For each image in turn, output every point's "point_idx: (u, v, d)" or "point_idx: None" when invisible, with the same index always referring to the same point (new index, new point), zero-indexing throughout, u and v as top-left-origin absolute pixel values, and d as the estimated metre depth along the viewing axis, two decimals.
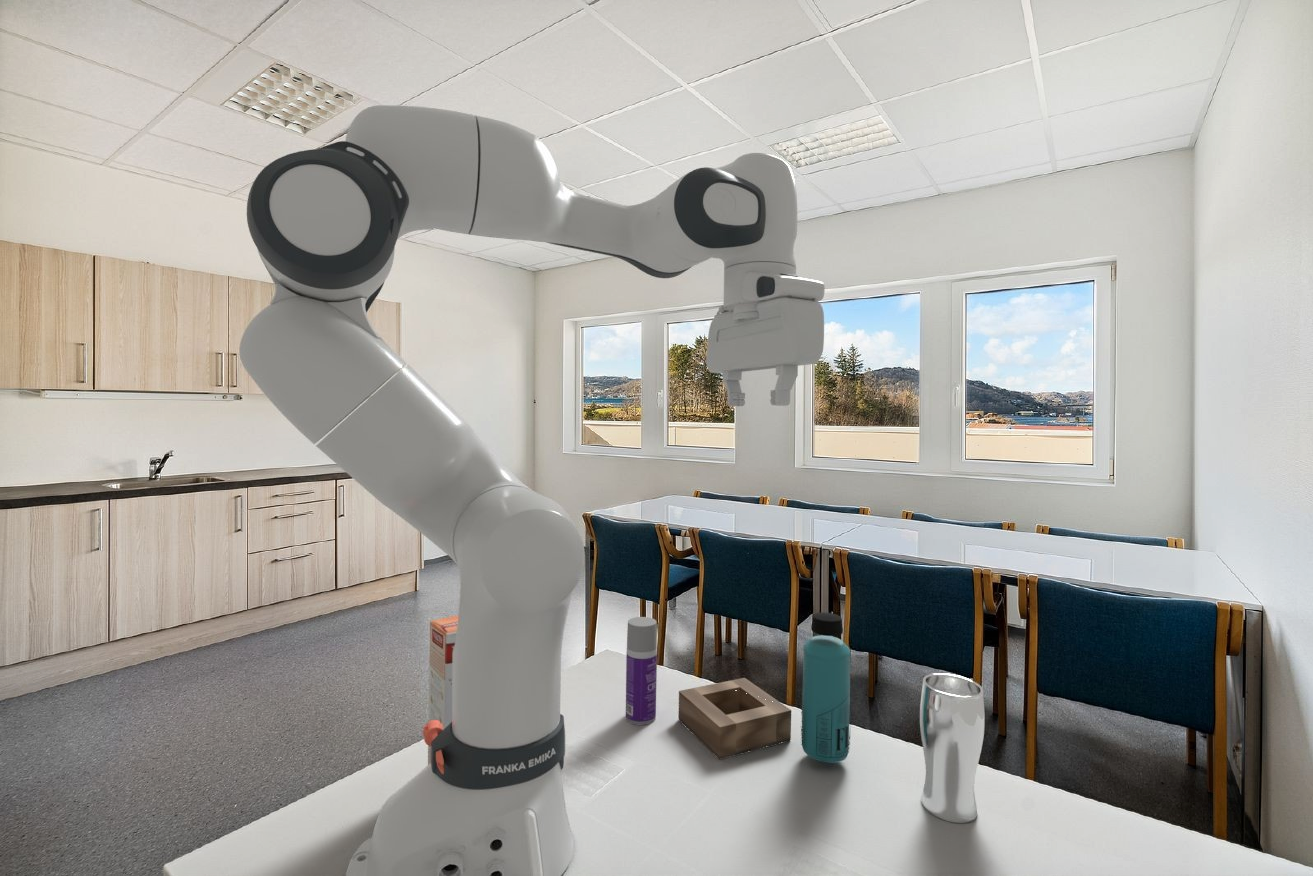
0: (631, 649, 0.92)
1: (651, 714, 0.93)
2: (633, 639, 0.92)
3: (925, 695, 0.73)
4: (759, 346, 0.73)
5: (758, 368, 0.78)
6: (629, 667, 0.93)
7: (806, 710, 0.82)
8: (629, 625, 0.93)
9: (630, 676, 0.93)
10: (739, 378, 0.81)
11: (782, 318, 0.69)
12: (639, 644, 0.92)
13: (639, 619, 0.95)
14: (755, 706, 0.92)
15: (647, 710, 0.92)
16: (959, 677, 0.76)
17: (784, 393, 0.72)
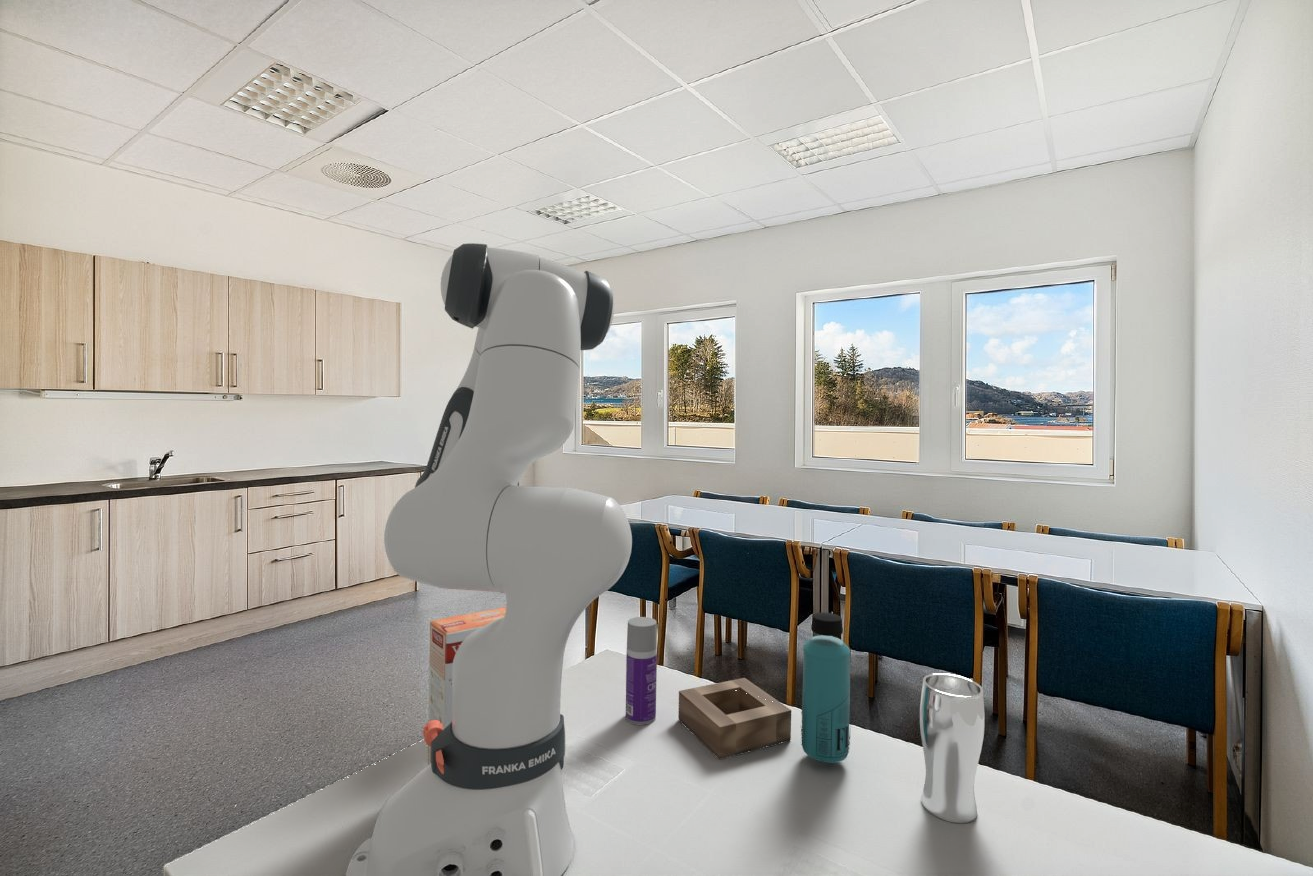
0: (631, 649, 0.92)
1: (651, 714, 0.93)
2: (633, 639, 0.92)
3: (925, 695, 0.73)
4: None
5: None
6: (629, 667, 0.93)
7: (806, 710, 0.82)
8: (629, 625, 0.93)
9: (630, 676, 0.93)
10: None
11: None
12: (639, 644, 0.92)
13: (639, 619, 0.95)
14: (755, 706, 0.92)
15: (647, 710, 0.92)
16: (959, 677, 0.76)
17: None
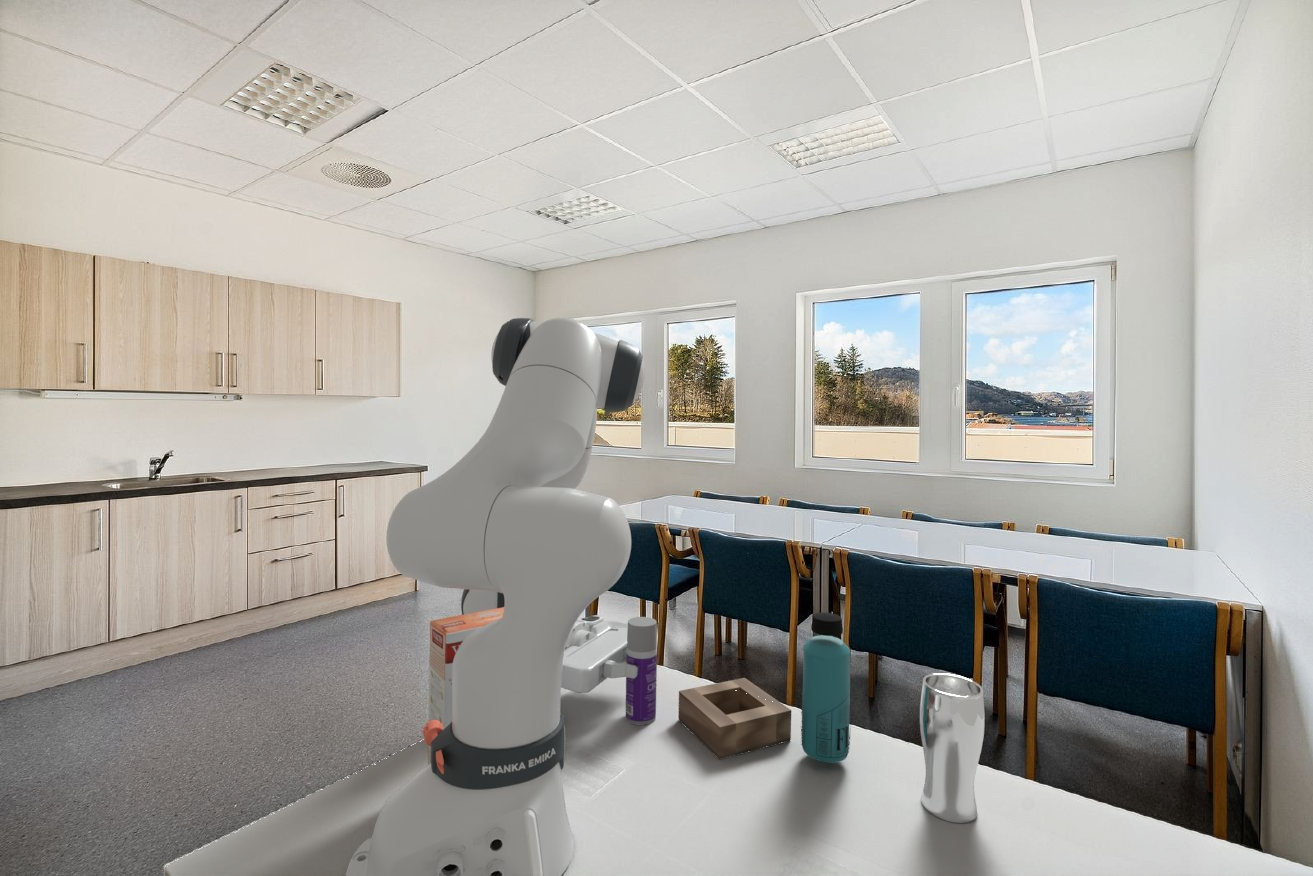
0: (631, 649, 0.92)
1: (651, 714, 0.93)
2: (633, 639, 0.92)
3: (925, 695, 0.73)
4: (615, 639, 0.99)
5: None
6: None
7: (806, 710, 0.82)
8: (629, 625, 0.93)
9: None
10: None
11: (613, 628, 1.04)
12: (639, 644, 0.92)
13: (639, 619, 0.95)
14: (755, 706, 0.92)
15: (647, 710, 0.92)
16: (959, 677, 0.76)
17: None
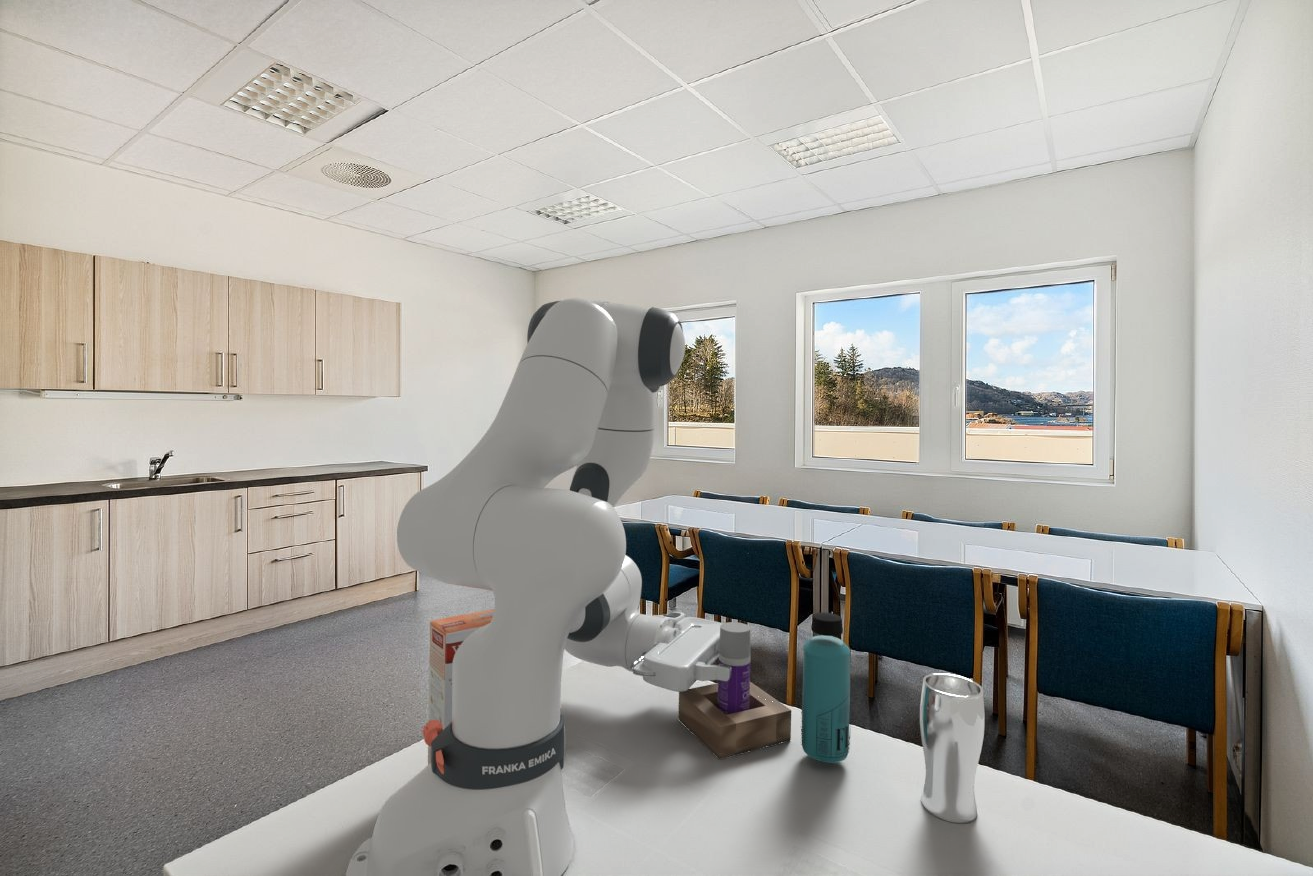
0: (726, 656, 0.89)
1: None
2: (728, 646, 0.89)
3: (925, 695, 0.73)
4: (701, 636, 0.96)
5: None
6: None
7: (806, 710, 0.82)
8: (723, 631, 0.90)
9: (724, 684, 0.89)
10: None
11: (695, 625, 1.01)
12: (734, 651, 0.89)
13: (731, 625, 0.92)
14: (755, 706, 0.92)
15: None
16: (959, 677, 0.76)
17: None
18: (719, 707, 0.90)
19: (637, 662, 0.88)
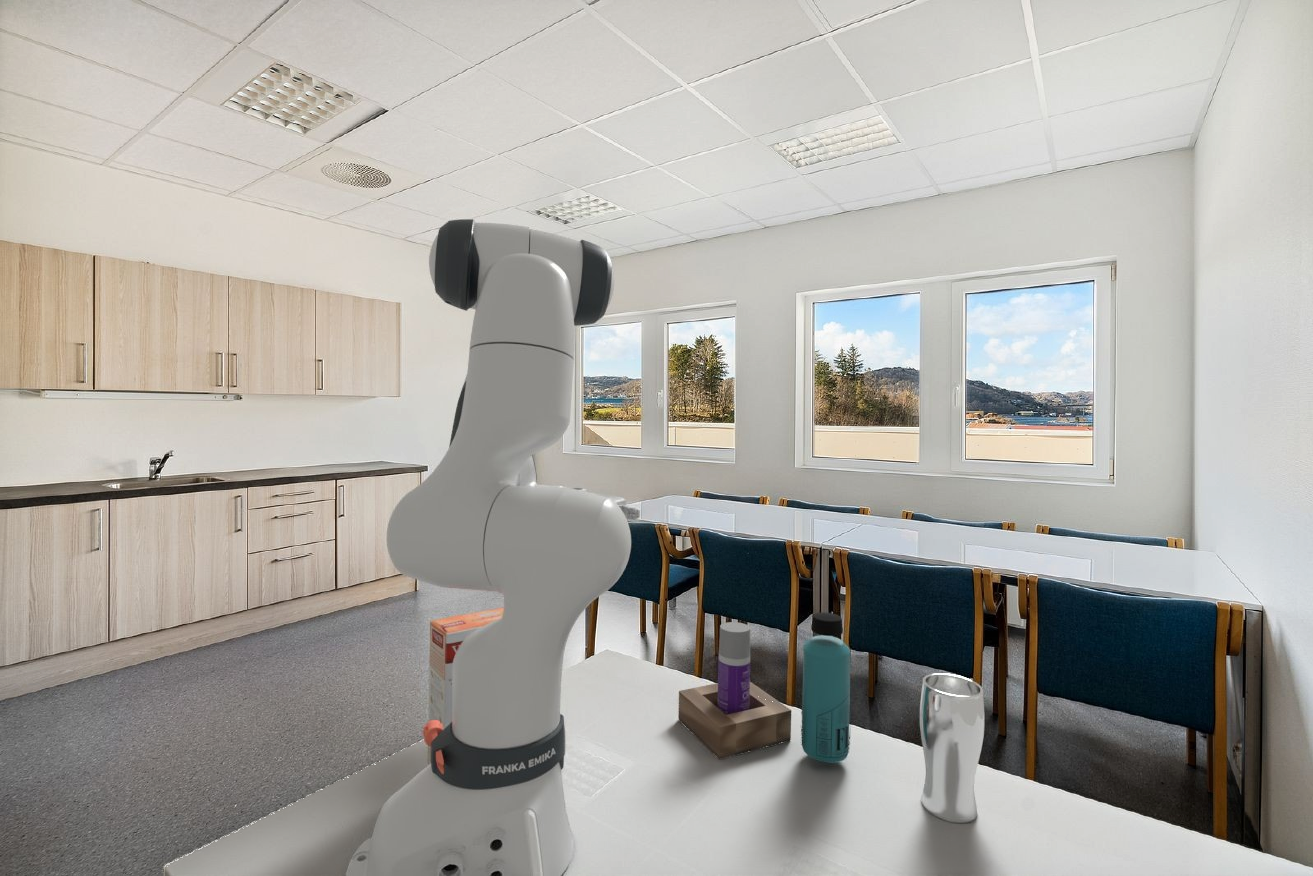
0: (726, 655, 0.89)
1: None
2: (728, 646, 0.89)
3: (925, 695, 0.73)
4: None
5: None
6: (723, 674, 0.89)
7: (806, 710, 0.82)
8: (723, 631, 0.90)
9: (724, 684, 0.89)
10: None
11: None
12: (734, 651, 0.89)
13: (731, 625, 0.92)
14: (755, 706, 0.92)
15: None
16: (959, 677, 0.76)
17: None
18: (719, 707, 0.90)
19: None
